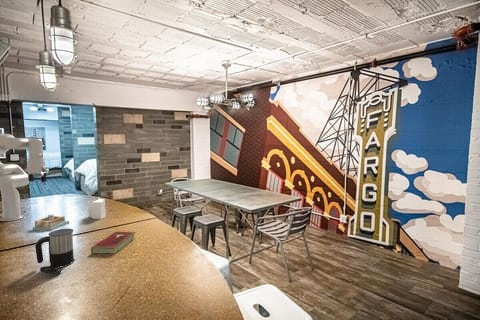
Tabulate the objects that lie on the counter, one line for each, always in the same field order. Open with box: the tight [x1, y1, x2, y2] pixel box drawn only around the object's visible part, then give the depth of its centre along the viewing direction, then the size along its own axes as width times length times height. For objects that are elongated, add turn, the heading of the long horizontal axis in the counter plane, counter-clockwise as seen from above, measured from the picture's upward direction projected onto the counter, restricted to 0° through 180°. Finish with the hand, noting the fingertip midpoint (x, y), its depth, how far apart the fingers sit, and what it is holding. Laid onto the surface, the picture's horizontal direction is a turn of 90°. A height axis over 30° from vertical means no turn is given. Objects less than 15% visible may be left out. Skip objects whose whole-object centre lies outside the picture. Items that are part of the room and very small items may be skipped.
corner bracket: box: [88, 198, 107, 220], centre depth 184 cm, size 11×11×12 cm
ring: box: [34, 215, 66, 227], centre depth 163 cm, size 11×11×4 cm
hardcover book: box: [90, 231, 136, 255], centre depth 134 cm, size 12×21×4 cm, turn 176°
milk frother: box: [34, 228, 75, 275], centre depth 110 cm, size 14×16×15 cm
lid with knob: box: [32, 213, 70, 232], centre depth 163 cm, size 13×14×8 cm
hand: (37, 181), depth 173 cm, fingers open, 9 cm apart
